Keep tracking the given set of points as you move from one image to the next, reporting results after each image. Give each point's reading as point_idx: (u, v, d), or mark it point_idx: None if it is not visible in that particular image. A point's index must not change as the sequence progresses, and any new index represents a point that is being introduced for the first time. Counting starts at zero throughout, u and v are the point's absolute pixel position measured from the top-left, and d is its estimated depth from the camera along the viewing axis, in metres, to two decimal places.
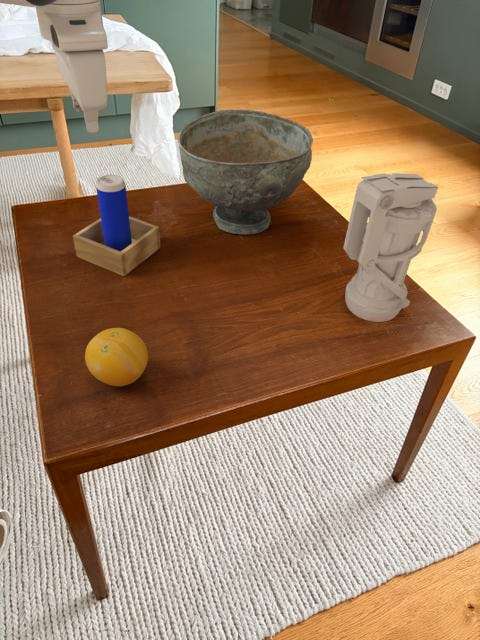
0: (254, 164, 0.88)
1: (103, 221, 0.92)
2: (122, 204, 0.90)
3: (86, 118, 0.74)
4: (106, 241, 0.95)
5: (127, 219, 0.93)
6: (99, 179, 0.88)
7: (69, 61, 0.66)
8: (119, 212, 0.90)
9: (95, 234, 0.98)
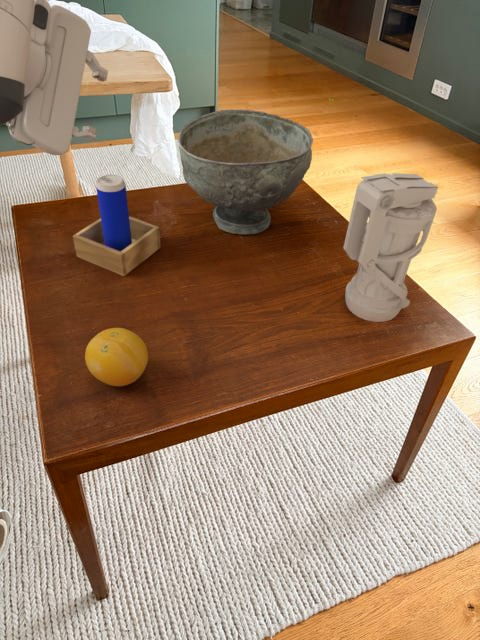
0: (254, 164, 0.88)
1: (103, 221, 0.92)
2: (122, 204, 0.90)
3: (96, 60, 0.77)
4: (106, 241, 0.95)
5: (127, 219, 0.93)
6: (99, 179, 0.88)
7: (55, 5, 0.69)
8: (119, 212, 0.90)
9: (95, 234, 0.98)
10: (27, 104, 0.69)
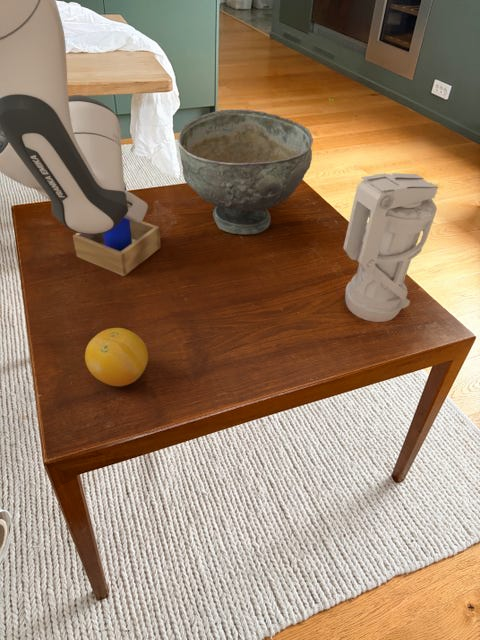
0: (254, 164, 0.88)
1: None
2: None
3: None
4: (106, 241, 0.95)
5: (127, 219, 0.93)
6: None
7: None
8: None
9: (95, 234, 0.98)
10: None
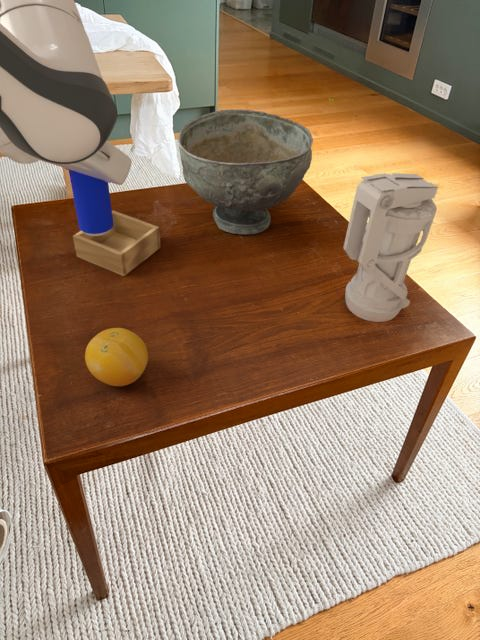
0: (254, 164, 0.88)
1: (74, 188, 0.70)
2: None
3: None
4: (79, 215, 0.73)
5: (106, 185, 0.71)
6: None
7: None
8: None
9: None
10: None
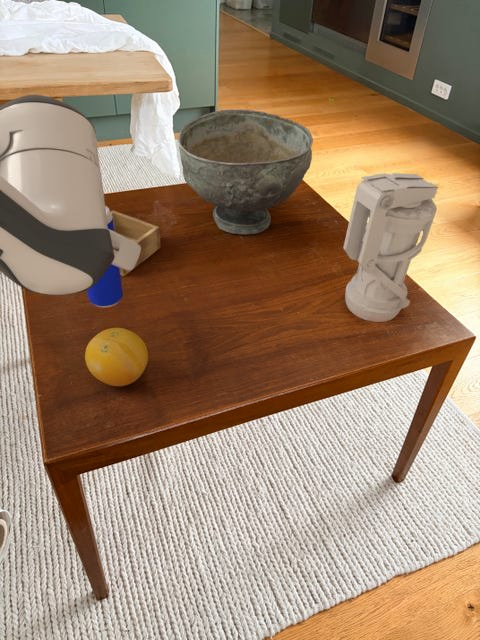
0: (254, 164, 0.88)
1: None
2: None
3: None
4: None
5: None
6: None
7: None
8: None
9: None
10: None
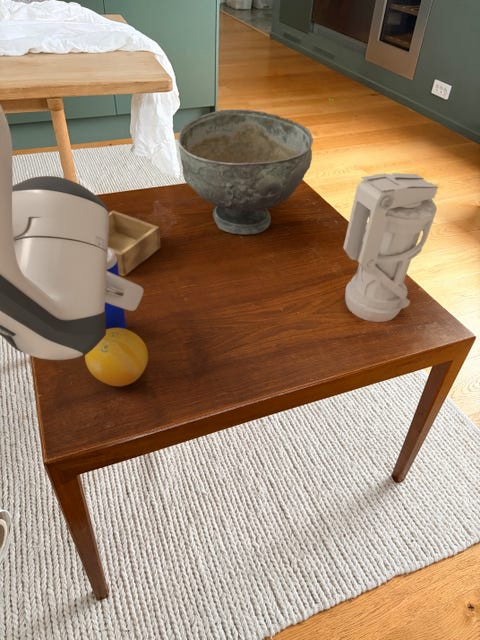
0: (254, 164, 0.88)
1: None
2: None
3: None
4: None
5: None
6: None
7: None
8: None
9: None
10: None
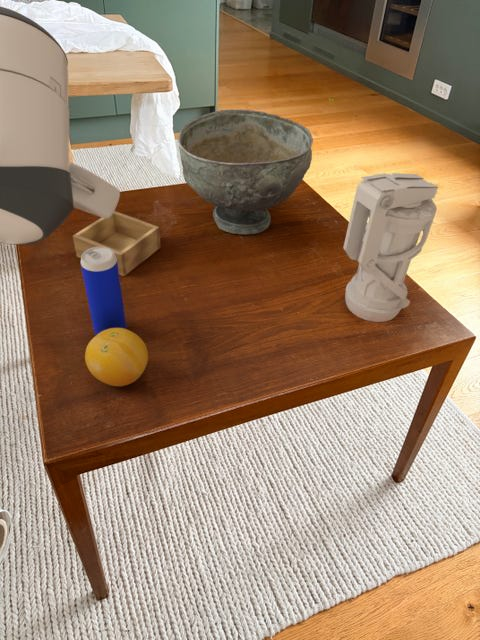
0: (254, 164, 0.88)
1: (90, 302, 0.75)
2: (113, 283, 0.73)
3: None
4: (94, 323, 0.78)
5: (119, 299, 0.76)
6: (85, 253, 0.72)
7: None
8: (109, 292, 0.73)
9: (95, 234, 0.98)
10: None
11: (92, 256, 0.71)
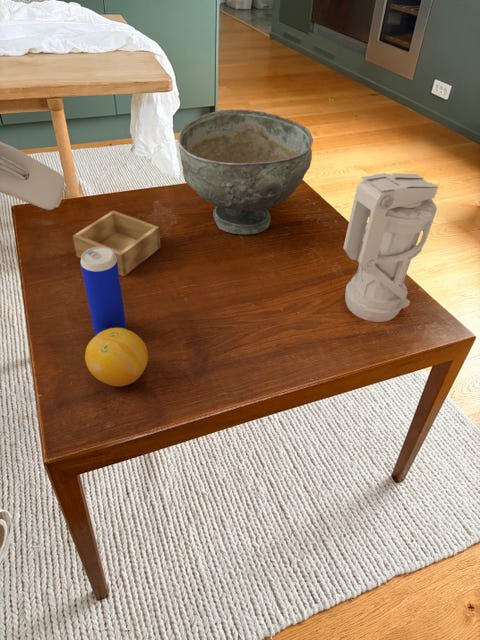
0: (254, 164, 0.88)
1: (90, 302, 0.75)
2: (113, 283, 0.73)
3: None
4: (94, 323, 0.78)
5: (119, 299, 0.76)
6: (85, 253, 0.72)
7: None
8: (109, 292, 0.73)
9: (95, 234, 0.98)
10: None
11: (92, 256, 0.71)
